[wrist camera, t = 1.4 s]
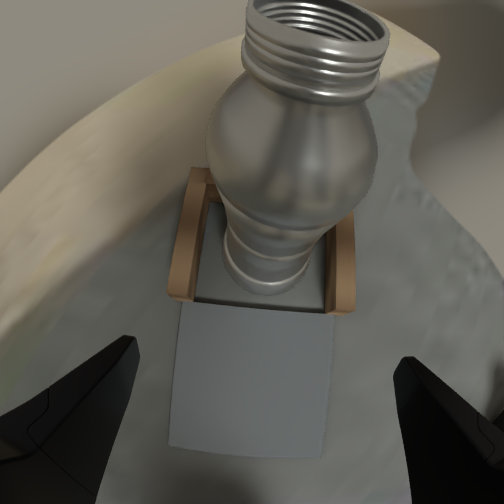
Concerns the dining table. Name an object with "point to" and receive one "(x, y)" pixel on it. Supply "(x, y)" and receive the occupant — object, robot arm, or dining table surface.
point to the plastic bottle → (294, 135)
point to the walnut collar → (191, 241)
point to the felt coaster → (251, 381)
